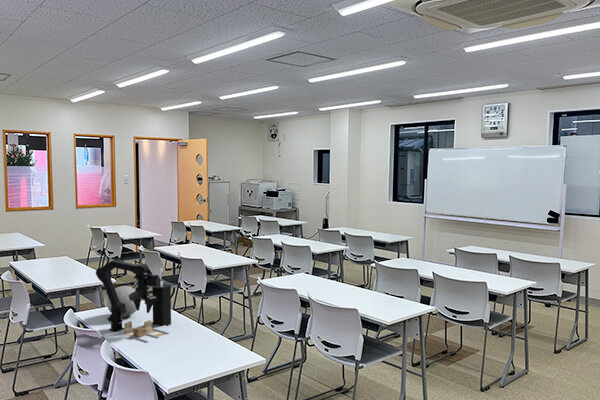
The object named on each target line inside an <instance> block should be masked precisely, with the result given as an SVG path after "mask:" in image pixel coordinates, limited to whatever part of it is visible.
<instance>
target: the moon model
mask: <svg viewBox="0 0 600 400" xmlns="http://www.w3.org/2000/svg"><path fill="white" fill-rule="evenodd" d="M135 289H136V288H133V287H131V286H127V285H122V286H118V287H116V288H115V291H116V293H117V296H118V298H119V301H120V302H121V303H122V304H123V303H125V307H126V308H127V309H126V311H127V312H126V314H125V315H124V318H126V317H130V316H132V315H134V313H136V311H137V309H136V306H135V304H134V302H133V301H130V299H129V296H128V295H129V294H131V293H133V292H135ZM106 305H107V308H108V311H109V312H110V313H111V303H110V300H109V297H108V296H107V301H106Z"/></svg>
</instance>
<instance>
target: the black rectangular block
mask: <svg viewBox="0 0 600 400" xmlns="http://www.w3.org/2000/svg"><path fill="white" fill-rule="evenodd" d="M151 290H152V296H156V297H157V301H155V302H154V304H153V305H152V325H155V326H161V327H165V326H166V327H168V326H170V325H172V298H171V297H172V293H171V292H172V285H169V284H164V280H161V283H160V285H159V287H154V286H151Z"/></svg>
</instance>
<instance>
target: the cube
mask: <svg viewBox="0 0 600 400" xmlns="http://www.w3.org/2000/svg"><path fill="white" fill-rule="evenodd" d="M132 331H133V336H134V337H137V338H140V337H141V338H142V337H143V338H144V337H146V336H145V328H144V326H138V327H137V326H136V327H135V328H132ZM141 338H140V339H141Z"/></svg>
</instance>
